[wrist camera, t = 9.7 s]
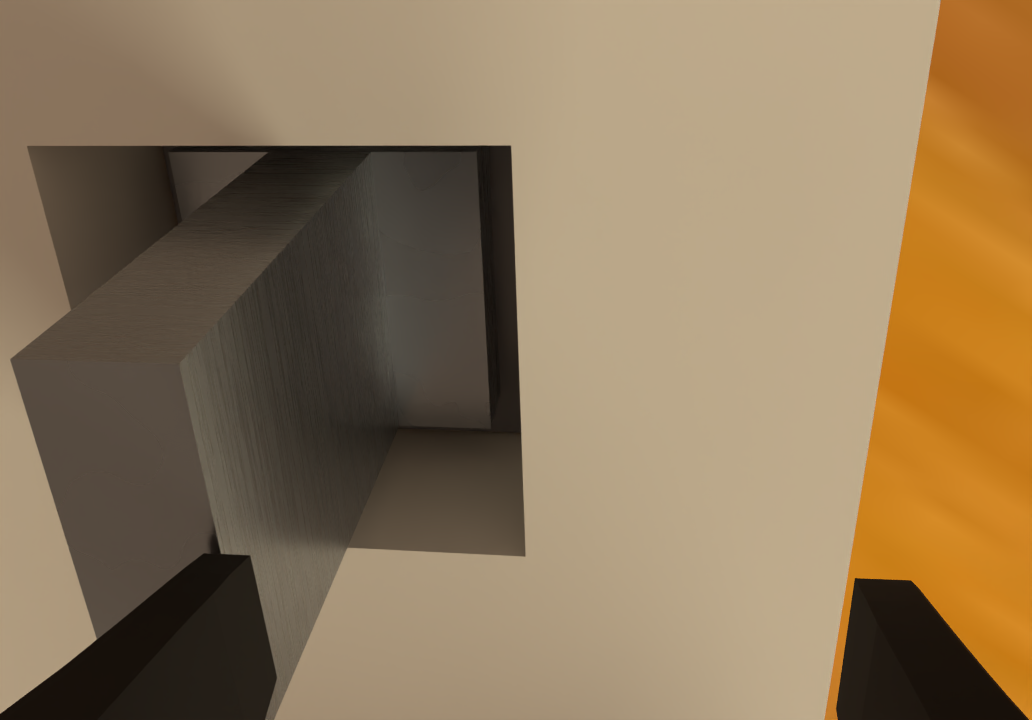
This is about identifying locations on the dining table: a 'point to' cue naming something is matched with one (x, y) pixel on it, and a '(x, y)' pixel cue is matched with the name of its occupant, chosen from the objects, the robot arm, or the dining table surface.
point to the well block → (524, 326)
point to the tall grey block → (265, 369)
